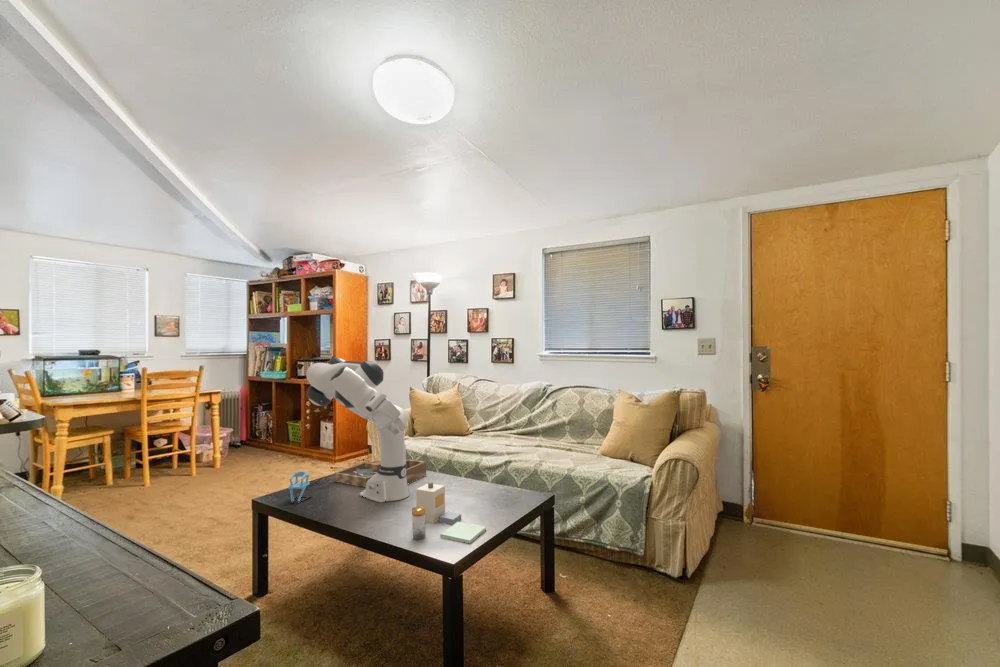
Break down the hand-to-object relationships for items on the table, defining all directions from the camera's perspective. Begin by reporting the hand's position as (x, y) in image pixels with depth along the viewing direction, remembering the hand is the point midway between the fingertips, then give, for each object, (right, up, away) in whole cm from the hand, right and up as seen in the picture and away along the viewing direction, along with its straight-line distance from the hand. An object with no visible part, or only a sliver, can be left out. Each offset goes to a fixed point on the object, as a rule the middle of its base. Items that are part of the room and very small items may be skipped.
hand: (401, 431), depth 157 cm
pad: (+21, -38, +6) cm, 44 cm away
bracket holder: (-13, -39, +71) cm, 82 cm away
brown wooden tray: (-34, -40, +72) cm, 89 cm away
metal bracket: (-33, -40, +73) cm, 89 cm away
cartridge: (+6, -38, +4) cm, 39 cm away
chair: (-54, -40, +42) cm, 79 cm away
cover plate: (+15, -39, +18) cm, 45 cm away
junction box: (+7, -39, +21) cm, 44 cm away
